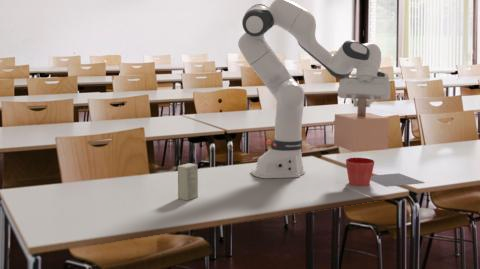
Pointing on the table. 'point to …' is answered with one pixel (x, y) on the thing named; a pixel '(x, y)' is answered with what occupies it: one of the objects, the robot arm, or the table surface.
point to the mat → (394, 180)
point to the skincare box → (187, 181)
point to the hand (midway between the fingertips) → (361, 106)
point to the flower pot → (359, 171)
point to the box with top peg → (361, 130)
